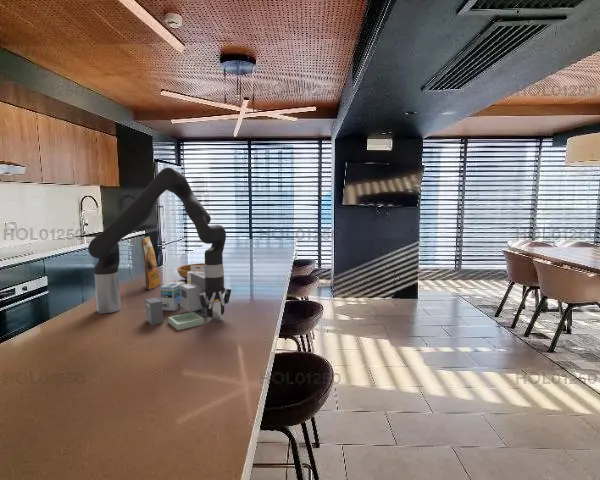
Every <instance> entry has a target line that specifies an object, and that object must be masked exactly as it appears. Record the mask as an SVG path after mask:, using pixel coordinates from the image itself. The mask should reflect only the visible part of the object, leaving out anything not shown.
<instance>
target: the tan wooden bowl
mask: <svg viewBox="0 0 600 480" xmlns="http://www.w3.org/2000/svg"><path fill="white" fill-rule="evenodd" d="M191 265H205V262H204V263H190V264H189V263H188V264H185V265H181V266H178V267H177V268H176V270H177V272H178V275H179V276H180V277H181V278H183V279H185V280H187V272H189V271H191V267H190V266H191ZM195 268H198V269H200V267H195Z"/></svg>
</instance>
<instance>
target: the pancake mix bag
mask: <svg viewBox="0 0 600 480" xmlns="http://www.w3.org/2000/svg"><path fill="white" fill-rule="evenodd" d="M141 249H142V254H143V261H144V272H145V276H144V277H145V289H146V290H152V289H155V288H156V287H158V286H159V285H160V284H161V277H160V274H159V269H158V263H157V259H156V254H155V250H154V247H153V243H152V241H151V238H150V235H148V236H146V237H143V238H142V240H141Z"/></svg>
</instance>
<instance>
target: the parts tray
mask: <svg viewBox="0 0 600 480" xmlns="http://www.w3.org/2000/svg"><path fill="white" fill-rule="evenodd" d="M167 323H168V324H169V325H170V326H172V327H173V328H174V329H176V331H181V330H184V329H190V328H192V327H197V326H200V325H201V326H202V325H204V324H205V318H204V317H201V316H200V315H198V314H197V313H195V312H193V311H191V312H185V313H181V314H177V315H176V314H175V315H173V316H168V317H167Z"/></svg>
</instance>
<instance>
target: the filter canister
mask: <svg viewBox="0 0 600 480" xmlns="http://www.w3.org/2000/svg"><path fill="white" fill-rule="evenodd" d="M211 308H212V317H211V318H210V322H216V323H217V322H220V321H222V315H221V301H220V300H219V299H216V300H214V301H213V303H212V307H211Z"/></svg>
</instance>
